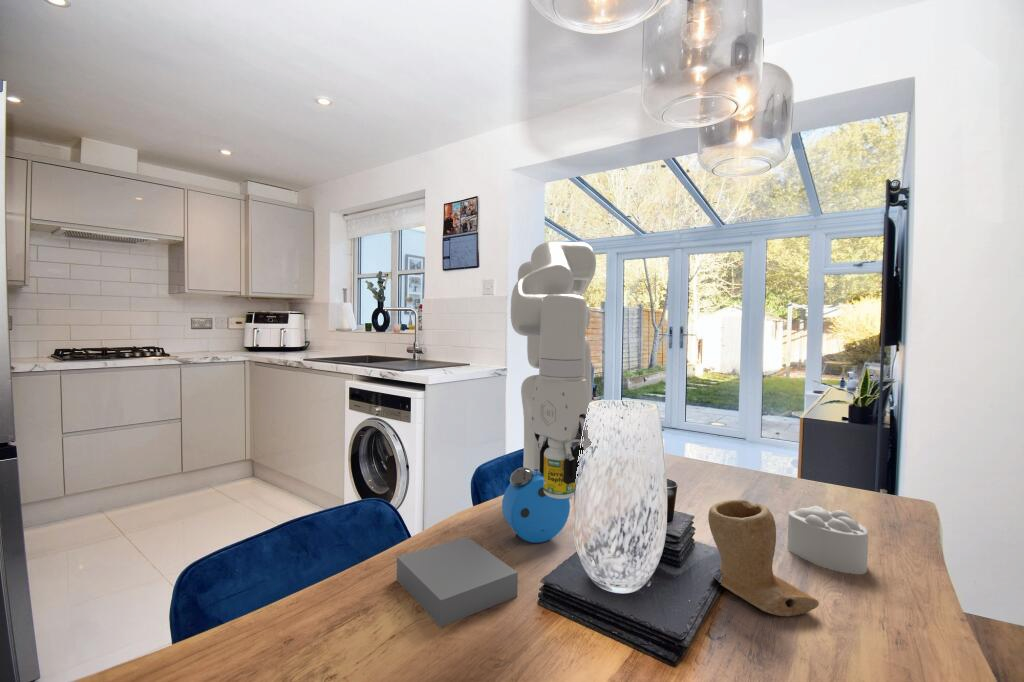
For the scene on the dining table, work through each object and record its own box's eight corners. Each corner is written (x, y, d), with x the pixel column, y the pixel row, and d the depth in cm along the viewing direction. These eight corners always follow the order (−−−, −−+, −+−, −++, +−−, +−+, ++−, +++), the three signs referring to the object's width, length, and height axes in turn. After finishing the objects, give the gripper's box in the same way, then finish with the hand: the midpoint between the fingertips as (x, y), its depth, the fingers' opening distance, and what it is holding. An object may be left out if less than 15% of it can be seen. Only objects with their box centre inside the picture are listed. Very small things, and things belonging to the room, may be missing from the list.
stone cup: (691, 578, 85) (693, 494, 85) (745, 568, 89) (748, 488, 89) (760, 630, 71) (763, 530, 70) (820, 616, 75) (824, 520, 74)
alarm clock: (557, 527, 106) (558, 459, 105) (570, 539, 100) (572, 467, 99) (500, 536, 101) (501, 465, 100) (511, 549, 95) (512, 474, 95)
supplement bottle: (574, 488, 84) (576, 433, 83) (575, 500, 78) (577, 441, 78) (543, 487, 84) (544, 432, 84) (542, 498, 79) (543, 440, 78)
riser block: (466, 557, 92) (466, 536, 92) (517, 596, 79) (517, 572, 79) (396, 579, 83) (396, 556, 83) (440, 627, 71) (440, 600, 70)
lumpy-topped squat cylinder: (815, 539, 102) (817, 499, 102) (882, 569, 90) (884, 523, 90) (779, 547, 98) (781, 505, 98) (844, 579, 86) (846, 531, 86)
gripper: (512, 365, 85) (511, 467, 86) (582, 376, 71) (579, 497, 72) (545, 363, 89) (543, 460, 90) (616, 373, 75) (613, 487, 77)
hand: (559, 475), depth 81 cm, fingers closed on supplement bottle, 5 cm apart
